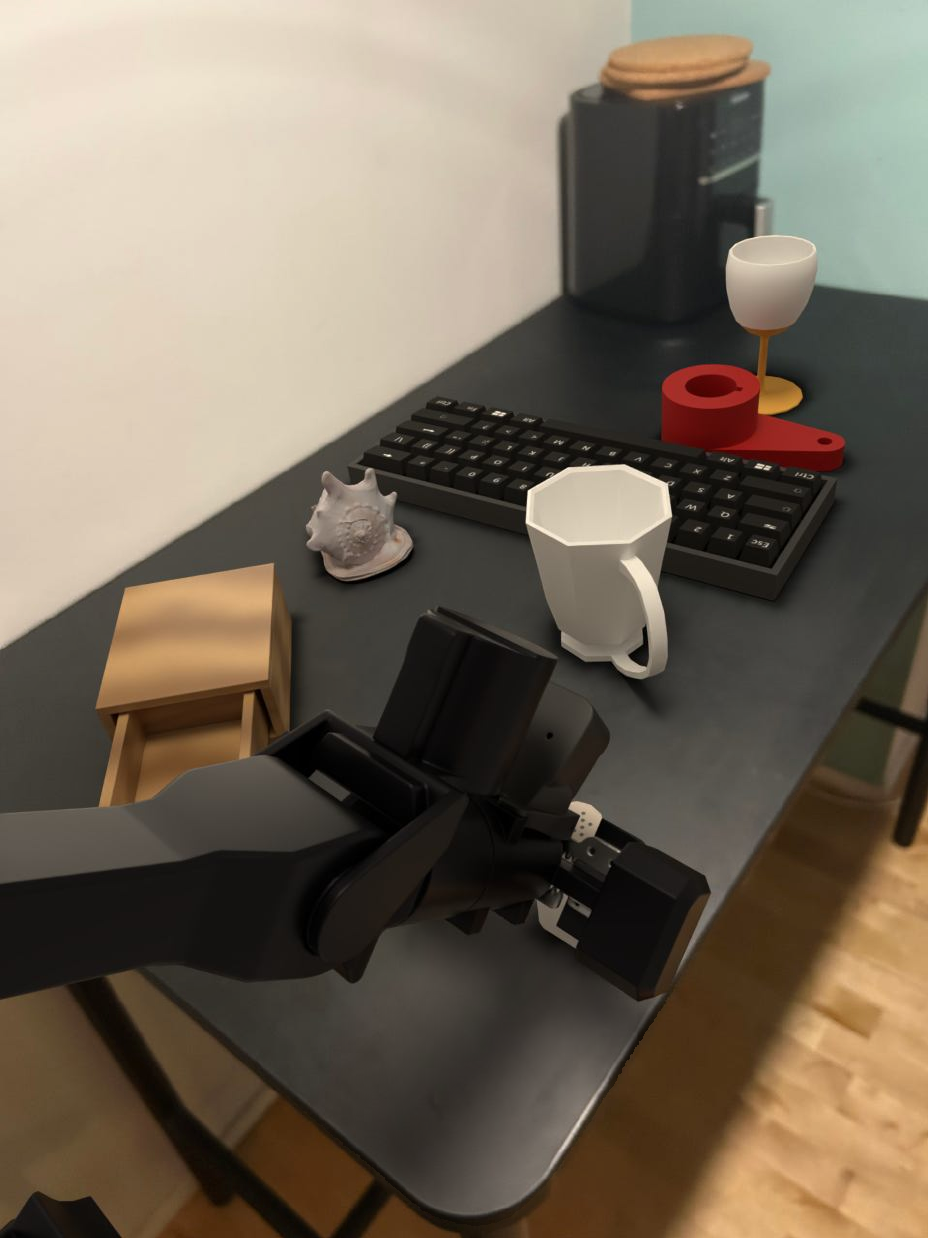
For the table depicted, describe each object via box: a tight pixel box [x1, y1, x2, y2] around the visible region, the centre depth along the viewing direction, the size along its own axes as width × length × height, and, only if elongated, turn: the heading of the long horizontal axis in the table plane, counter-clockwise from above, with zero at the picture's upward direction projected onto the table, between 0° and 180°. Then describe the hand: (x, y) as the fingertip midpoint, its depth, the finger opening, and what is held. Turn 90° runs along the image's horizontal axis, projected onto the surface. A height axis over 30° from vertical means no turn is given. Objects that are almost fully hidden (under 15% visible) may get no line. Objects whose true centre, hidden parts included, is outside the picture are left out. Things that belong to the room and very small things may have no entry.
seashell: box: [305, 468, 414, 582], centre depth 90 cm, size 10×12×9 cm
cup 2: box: [725, 234, 818, 416], centre depth 101 cm, size 9×9×16 cm
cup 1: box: [526, 464, 672, 680], centre depth 73 cm, size 11×16×13 cm
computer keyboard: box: [346, 395, 838, 602], centre depth 94 cm, size 45×16×4 cm, turn 57°
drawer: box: [98, 689, 269, 807], centre depth 66 cm, size 18×11×5 cm, turn 7°
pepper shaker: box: [536, 800, 603, 949], centre depth 56 cm, size 4×4×10 cm
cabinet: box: [94, 562, 293, 746], centre depth 77 cm, size 15×13×7 cm
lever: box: [660, 363, 846, 472], centre depth 96 cm, size 18×9×7 cm, turn 62°
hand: (591, 839), depth 55 cm, fingers open, 4 cm apart
